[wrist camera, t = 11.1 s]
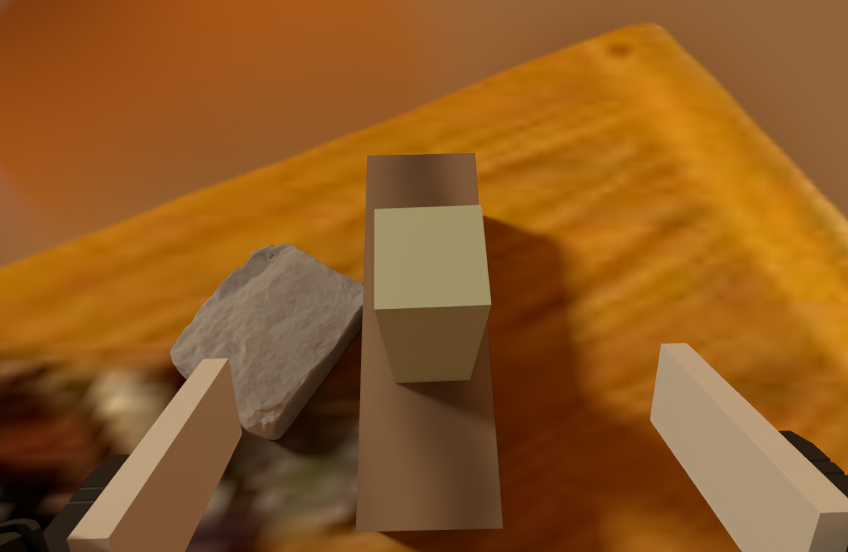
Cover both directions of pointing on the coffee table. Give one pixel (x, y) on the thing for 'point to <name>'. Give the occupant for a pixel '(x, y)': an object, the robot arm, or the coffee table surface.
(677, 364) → the robot arm
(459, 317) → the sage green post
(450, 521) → the walnut beam
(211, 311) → the stone block
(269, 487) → the coffee table surface
